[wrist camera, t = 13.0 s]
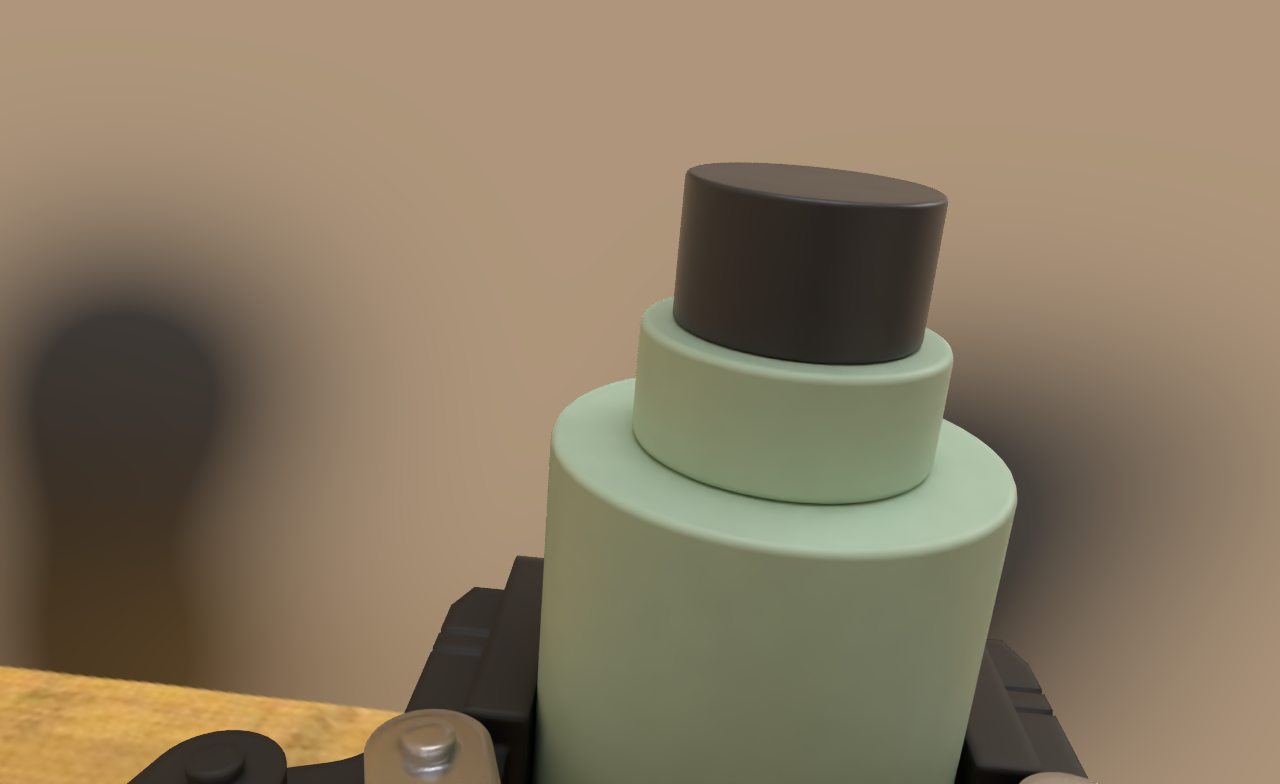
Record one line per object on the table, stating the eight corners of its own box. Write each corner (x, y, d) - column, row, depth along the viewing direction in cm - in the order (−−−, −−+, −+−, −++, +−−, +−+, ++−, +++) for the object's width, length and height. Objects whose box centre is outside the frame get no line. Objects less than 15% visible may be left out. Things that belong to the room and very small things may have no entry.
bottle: (887, 1059, 15) (1080, 187, 11) (815, 1431, 11) (1081, 259, 7) (599, 940, 16) (670, 137, 12) (442, 1227, 12) (468, 172, 8)
